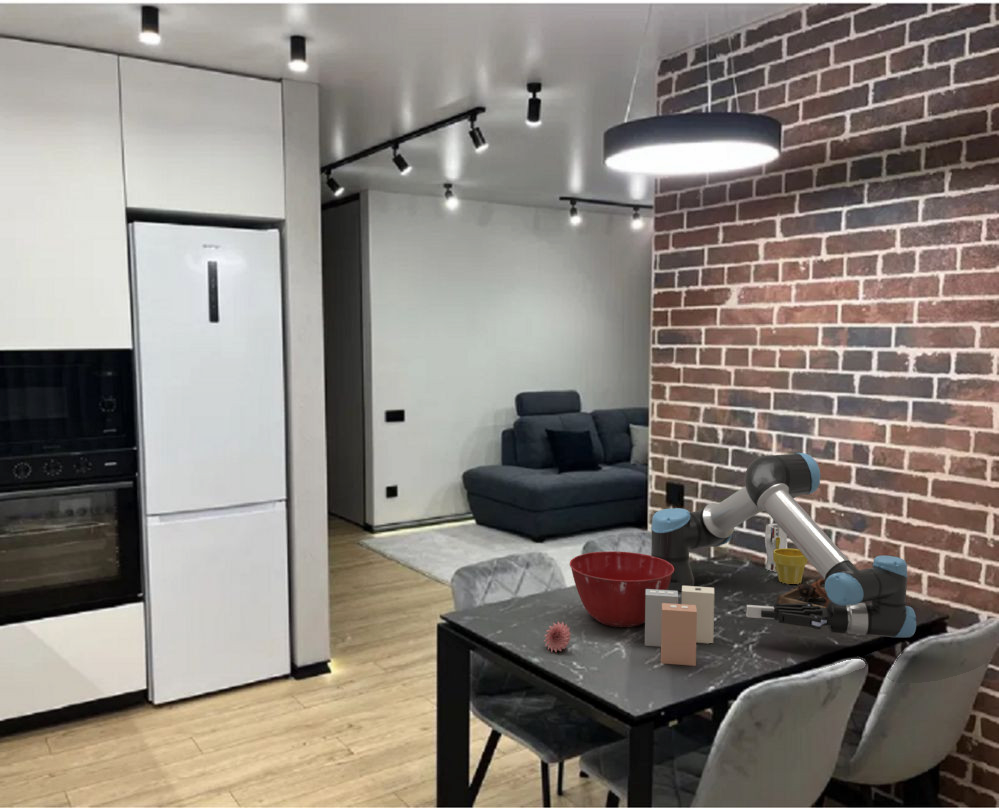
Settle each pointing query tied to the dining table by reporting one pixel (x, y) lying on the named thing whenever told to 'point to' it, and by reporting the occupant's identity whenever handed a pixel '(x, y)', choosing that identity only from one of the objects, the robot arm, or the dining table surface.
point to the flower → (557, 637)
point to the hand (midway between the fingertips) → (747, 611)
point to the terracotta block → (678, 634)
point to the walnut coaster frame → (792, 598)
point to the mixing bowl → (618, 584)
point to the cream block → (701, 610)
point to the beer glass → (773, 543)
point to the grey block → (656, 613)
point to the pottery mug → (813, 591)
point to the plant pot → (789, 565)
